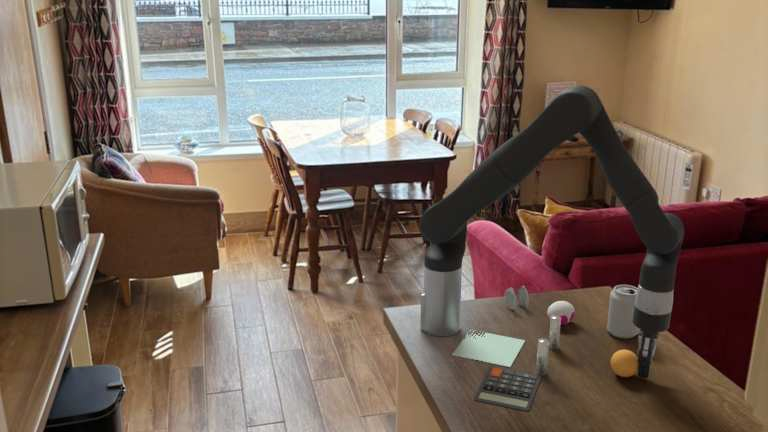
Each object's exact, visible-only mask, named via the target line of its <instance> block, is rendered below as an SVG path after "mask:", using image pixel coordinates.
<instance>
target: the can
mask: <svg viewBox="0 0 768 432" xmlns="http://www.w3.org/2000/svg"><path fill="white" fill-rule="evenodd" d="M637 289H638V287H636V286H635V285H634V286H633V285H629V284H618V285H615V286H614V287H613V289H612V291H611V292H610V295H609V303H608V304H609V305H608V314H607V324H606V330H607V331H608V332H609V333H610V335H612V336H613V337H615V338H618V339H623V340H624V339H625V340H626V339H632V338H634V337H636V336H637V335H639V331H640V330H639V329H640V328H638V327H636V326H635V325H634V324H633V313H634V306H635V299H636V292H637Z"/></svg>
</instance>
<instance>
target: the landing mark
mask: <svg viewBox="0 0 768 432" xmlns="http://www.w3.org/2000/svg"><path fill="white" fill-rule="evenodd" d="M471 330H473V329H470V330H469V331H471ZM473 332H474V330H473ZM482 332H483V333H484V331H482ZM483 333H482V334H483ZM472 334H473V333H472ZM472 334H471V335H472ZM479 334H480V333H479ZM479 334H478V335H479ZM482 334H481V335H480V336H478V335H476V334H474V335H473V336H471V335H469V336H468V333H466V335H465V337H466V338H465V337H464V338H465V339H464V338H463V339H462V340H461V342H460V343H459V345H458V346H457V347H456V349H455V350H454V351H453V352H452V354H451V355H452V356H453V357H458V358H463V359H468V360H472V359H473V361H476V360H478V362H481V361H483V362H482V363H487V364H492V365H497V366H501V367H506V368H511V367H512V365H513V364H514V362H515V360H516V359H517V356H518V355H519V353H520V351H521V350H522V348H523V346H524V345H525V343H526V340H524V339H520V338H515V337H510V336H505V335H499V334H494V333H490V332H489V333H488V332H485V334H484V335H483V336H482ZM475 335H476V336H475ZM467 336H468V337H467ZM470 336H471V337H470ZM474 336H475V337H474ZM481 336H482V337H481ZM484 336H485V337H484ZM469 337H470V338H469ZM473 337H474V338H473ZM475 338H476V339H475Z"/></svg>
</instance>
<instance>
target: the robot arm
mask: <svg viewBox="0 0 768 432" xmlns="http://www.w3.org/2000/svg"><path fill="white" fill-rule="evenodd" d="M577 134H580V135H581V136H582V137H583V138H584V140H585V141H586V142H587V143H588V145H589V147H591V149H592V152H593V153H594V155H595V157H596V159H597V161H598V163H599V165H600V169H601V170H602V173H603V175H604V177H605V179H606V181H607V183H608V185H609V187H610V189H611V190H612V192H613V194H614V195H615V197H616V198H617V200H619V202H620V203H621V205H622V206H623V207H624V209H625V210H626V212H627V213H628V215H629V217H630V220H631V222H632V224H633V227H634V228H635V231H636V233H637V235H638V237H639V238H640V240H641V241H642V243H643V244H644V246H645V247H646V253H645V257H644V259H643V261H642V263H641V267H640V273H639V278H638V279H639V281H638V286H637V288H638V289H637V292H636V299H635V306H634V313H633V324H634V325H635V326H636V327H638V328H639V329H640V330H639V333H638V339H637V342H638V347H637V354H638V363H639V368H638V370H637V377H638V378H642V379H648V378H649V375H650V369H651V368H650V366H651V365H652V362H653V361H652V360H653V357H654V356H655V352H656V349H657V348H656V347H657V345H658V340H659V337H660V333H663V332H666V331H667V330H668V329H669V328H670V325H671V324H670V322H671V317H672V311H673V304H674V290H675V289H674V288H675V283H676V276H677V275H676V274H677V266H678V265H677V264H678V260H679V258H680V254H681V249H682V246H683V241H684V236H685V227H684V223H683V222H682V220H681V219H680V217H679V216H678V215H676V214H674V213H670V212H664V211H663V209H662V208H661V205H660V204H659V195H658V192H657V191H656V190H655V188H654V187H653V185H652V184H651V182H650V181H649V179H648V177H646V175H645V173H643V171H642V170H641V168H640V167H639V165H638V164H637V163H636V161H635V159H634V158H633V156H632V155H631V154H630V152H629V151H628V149H627V148H626V146H625V144H624V143H623V141H622V140H621V138H620V136H619V135H618V132H617V130H616V129H615V127H614V125H613V123H612V122H611V118H610V117H609V115H608V113H607V111H606V108H605V106H604V105H603V102H602V100H601V99H600V96H599V95H598V93H597V92H596V90H594V89H593V88H591V87H589V86H586V85H575V86H571V87H569V88H566V89H565V90H562V91H560V92H558V94H557V95H555V97H554V98H553V99H552V100H551V101H550V102H549V103H548V104H547V106H545V108H544V109H543V110H542V111H541V112H540V113H539V114H538V115H537V116H536V118H534V120H533V121H531V122H530V123H529V124H528V125H527V126H526V127H525V128H523V129H522V130H521V131H519V132H518V133H516V134H514V135H513V136H511V137H510V138H509V139H508V140H506V141H504V143H502V144H501V145H500V146H499V147H497V148H496V149H495V150H494V151H493V152H491V153H490V155H488V156H487V157H486V158H484V160H482V162H480V164H479V165H478V166H476V167H475V168H474V169H473V170H472V171H471V172H470V173H469V174H468V175H467V176H466V177H465V179H464V180H462V182H460V184H459V185H458V186H457V187H456V188H455V189H454V190H453V191H452V192H450V193H449V194H448V195H447V196H446V197H443V198H442V199H441V200H439V201H438V202H437V203H435V204H433V205H431V206H429V207H428V208H427V209H426V210H425V211H424V212H423V213H422V215H421V217H420V220H419V232H420V235H421V237H422V238H423V239H424V240H426V241H427V242H428V243H429V245H428V248H427V250H426V251H425V254H424V258H423V259H424V260H423V261H424V262H423V263H424V264H423V268H424V270H423V274H424V275H423V277H424V278H423V293H421V295H420V325H419V326H420V327H419V330H421V331H424V332H426V334H429V335H432V336H434V337H435V336H437V337H449V336H454V335H455V334H458V333H459V332H460V329H461V304H462V303H461V301H462V277H463V276H462V273H463V268H462V267H463V259H464V256H465V253H466V247H467V246H466V245H467V235H468V221H469V220H470V219H471V218H472V217H474V216H475V215H476V214H478V213H479V212H481V211H482V210H484V209H486V208H488V207H489V206H491V205H492V204H494V203H496V202H497V201H499V200H500V199H502V198H503V197H504V196H507V194H509V193H510V192H511V191H513V190H514V189H515V188H516V187H517V186H519V185H520V184H521V183H522V182H524V181H525V180H526V179H527V178H528V177H529V176H530V175H531V174H532V173H533V172H534V171H535V170H536V168H537V167H538V166H539V165H540V164H541V163H542V161H543V160H544V159H545V158H546V156H547V155H549V154H550V153H551V152H552V151H554V149H556V148H557V147H559V146H560V145H562V144H563V143H565V142H566V141H568V140H569V139H571V138H573V137H574V136H575V135H577Z"/></svg>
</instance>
